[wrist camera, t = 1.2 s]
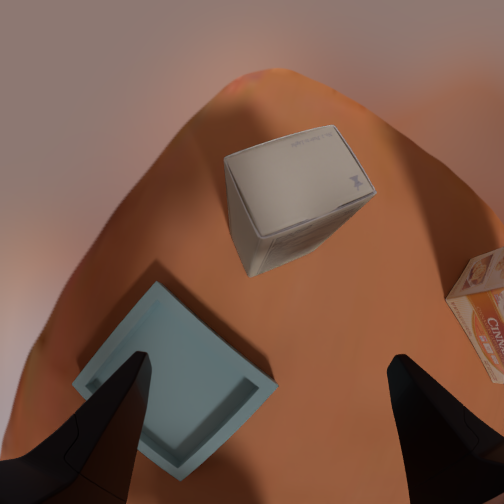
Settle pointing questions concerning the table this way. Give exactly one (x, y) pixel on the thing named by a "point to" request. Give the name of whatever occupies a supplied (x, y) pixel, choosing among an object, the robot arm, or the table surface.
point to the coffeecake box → (483, 309)
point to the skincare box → (292, 195)
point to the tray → (181, 381)
